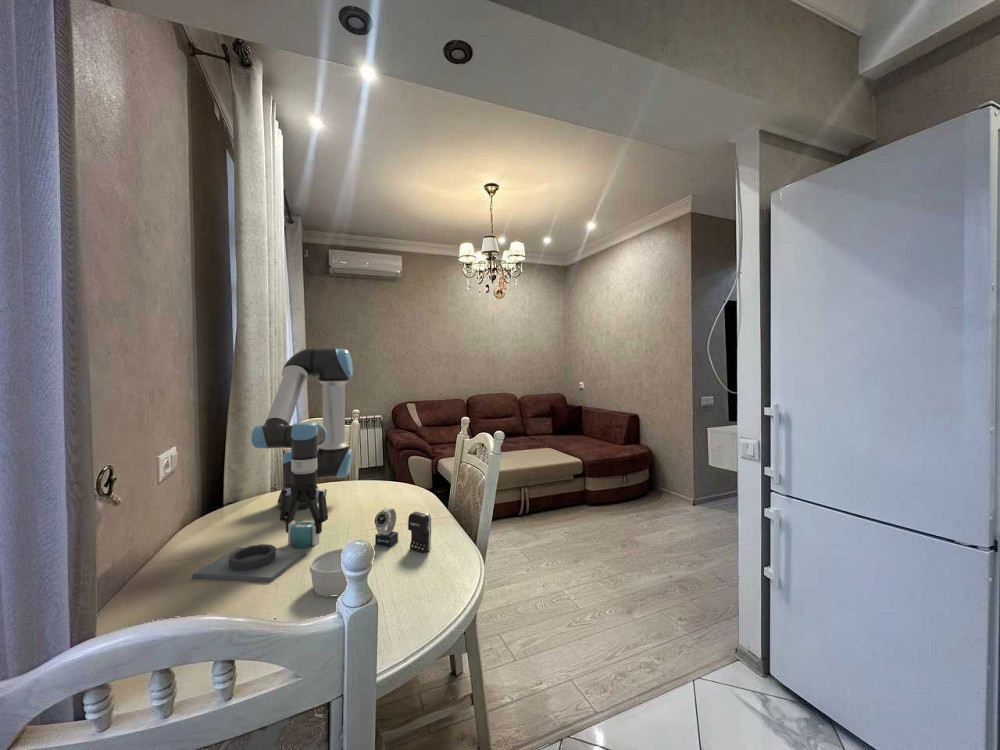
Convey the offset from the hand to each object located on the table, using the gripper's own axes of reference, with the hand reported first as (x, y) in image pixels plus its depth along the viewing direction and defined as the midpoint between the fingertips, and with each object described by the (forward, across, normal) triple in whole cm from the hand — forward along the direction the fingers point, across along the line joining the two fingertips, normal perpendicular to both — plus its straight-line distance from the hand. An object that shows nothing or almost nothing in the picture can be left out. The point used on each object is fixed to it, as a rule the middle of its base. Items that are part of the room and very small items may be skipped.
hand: (303, 542), depth 126 cm
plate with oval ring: (0, -6, -15) cm, 16 cm away
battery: (+1, +38, -1) cm, 38 cm away
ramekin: (+1, +23, -23) cm, 33 cm away
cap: (0, 0, 0) cm, 0 cm away
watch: (+1, +26, +3) cm, 26 cm away
